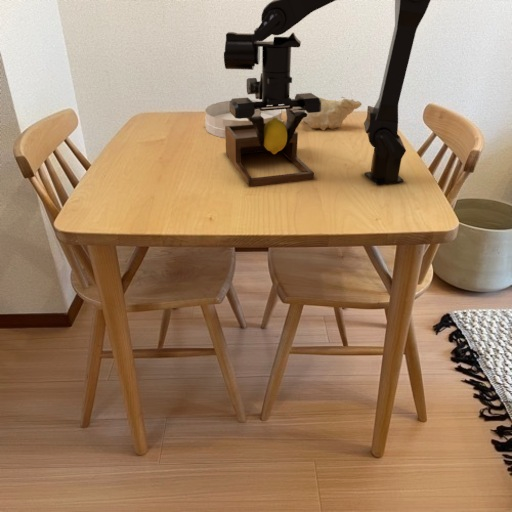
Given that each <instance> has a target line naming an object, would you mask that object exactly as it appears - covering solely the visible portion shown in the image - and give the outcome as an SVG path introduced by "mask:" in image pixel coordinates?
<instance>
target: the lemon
mask: <svg viewBox="0 0 512 512" xmlns="http://www.w3.org/2000/svg"><path fill="white" fill-rule="evenodd" d="M282 121H283V120H282ZM282 121H280V120H278V119H277V118H273V119H272V120H270V121H268V122H267V123H266V124H265V126H264V147H265V148H266V149H267V150H268V151H267V152H270V153H271V154H272V155H276V154H277V153H278V152H281V150H282V149H283V148H284V147H285V145H286V142H287V129H286V126H285V125H284V123H283V122H282Z"/></svg>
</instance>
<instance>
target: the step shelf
mask: <svg viewBox="0 0 512 512" xmlns="http://www.w3.org/2000/svg"><path fill="white" fill-rule="evenodd" d="M282 122H283V123H284V125H285V126H286V123H287V122H286V121H284V120H282ZM265 124H266V123H264V126H265ZM225 135H226V138H225V154H226V156H227V158H228V159H229V160H230V162H231V163H232V165H233V166H234V167H235V170H236V171H237V172H238V174H239V175H240V176H241V178H242V179H243V180H244V182H245V184H246V185H247V186H248V187H257V186H258V187H259V186H266V185H275V184H283V183H290V182H292V183H293V182H302V181H310V180H315V171H313V170H312V169H311V168H310V167H309V166H308V165H307V164H305V162H304V161H302V159H301V158H300V157H299V156H298V140H299V132H298V131H297V130H295V132H294V134H293V136H292V138H291V140H290V142H289V144H286V145H285V147H284V148H283V149H282V150H281V151H280V152H281V153H282V154H283V155H284V156H285V157H286V158H287V159H288V161H290V162H291V163H293V164H294V165H295V166H296V168H298V169H299V171H301V172H295V173H285V174H276V175H275V174H274V175H268V176H267V175H266V176H258V177H252V176H251V174H250V173H249V172H248V170H247V169H246V168H245V167H244V165H243V164H242V160H241V158H242V155H244V154H255V153H265V152H269V151H268V150H267V149H266V148H265V147H264V145H263V147H261V146H260V143H259V140H258V137H257V134H256V131H255V128H254V126H253V124H244V125H232V126H225Z"/></svg>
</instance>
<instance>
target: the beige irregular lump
mask: <svg viewBox="0 0 512 512" xmlns="http://www.w3.org/2000/svg"><path fill="white" fill-rule="evenodd" d="M317 97H318V96H317ZM318 98H319V99H320V100H321V111H320V112H314V113H308V112H306V110H305V113H307V117H304V118H303V119H302V121H303V123H306V124H307V125H308V127H310V128H311V129H320V130H322V131H325V130H326V129H327V128H329V129H330V130H331V129H332V130H333V129H335V128H340V127H341V125H342V124H343V121H345V120H346V118H347V117H348V116H349V115H350V114H351V113H353V112H354V111H355V110H357V109H358V108H361V106H362V104H363V103H362V102H361V101H358V100H354V99H353V98H351V99H348V98H345V97H344V96H341V97H340V98H341V100H336V99H335V100H334V99H325V98H322V97H318Z"/></svg>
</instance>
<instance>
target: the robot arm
mask: <svg viewBox="0 0 512 512" xmlns="http://www.w3.org/2000/svg"><path fill="white" fill-rule="evenodd" d="M335 1H336V0H271V1H270V2H269V3H267V4H266V6H265V7H264V8H263V9H262V11H261V12H262V13H261V19H260V21H261V23H260V24H259V26H258V27H256V28H255V29H254V30H253V33H241V32H240V33H239V32H234V31H228V32H226V33H225V44H224V52H223V64H224V68H225V70H247V71H248V70H254V69H255V67H256V66H257V65H260V62H261V73H260V78H259V80H258V78H256V77H248V78H247V79H246V93H247V95H254V97H255V100H258V101H261V102H252V101H251V100H252V99H251V98H249V97H234V98H231V100H229V101H230V104H229V108H230V113H231V114H232V115H233V116H234V117H235V118H238V119H242V118H247V119H248V120H249V121H251V122H252V124H253V126H254V128H255V131H256V134H257V137H258V140H259V143H260V146H261V147H263V145H264V118H263V117H262V116H261V111H267V110H280V109H282V110H285V114H286V122H285V123H286V129H287V142H286V144H289V142H290V140H291V138H292V136H293V134H294V132H295V131H297V129H298V127H299V125H300V124H301V123H302V121H303V120H302V119H303V118H304V117H307V113H305V110H306V112H308V113H314V112H320V111H321V100H320V99H319V98H320V97H319V98H318V96H317V95H315V94H314V93H312V92H304V93H303V92H302V93H296V94H295V96H294V98H292V97H290V91H291V84H293V77H292V76H291V66H292V65H291V63H292V48H300V47H301V44H302V41H301V40H300V39H299V38H298V37H297V36H296V33H295V32H291V33H290V34H289V36H280V35H283V34H285V33H286V32H288V31H289V30H290V29H292V28H293V27H295V26H296V25H297V24H298V23H300V22H301V21H302V20H304V19H305V18H306V17H307V16H309V15H310V14H311V13H313V12H315V11H318V10H319V9H321V8H323V7H325V6H327V5H330V4H331V3H334V2H335ZM430 3H431V0H394V28H393V32H392V36H391V41H390V46H389V51H388V54H387V60H386V64H385V68H384V73H383V77H382V82H381V85H380V90H379V96H378V99H377V101H376V103H375V105H374V106H371V105H367V108H366V109H367V110H366V111H367V113H366V119H365V120H364V122H363V127H364V130H365V133H366V134H367V138H368V142H369V143H370V146H371V147H373V154H372V158H371V159H372V160H371V166H370V171H366V172H364V176H365V177H367V178H368V179H369V180H370V181H371V182H373V183H374V184H375V185H377V186H383V185H384V186H385V185H392V184H393V185H394V184H400V183H404V181H405V180H404V178H403V177H401V176H399V175H400V170H401V163H402V159H403V157H404V155H405V154H406V152H407V150H406V147H405V145H404V143H403V140H402V138H401V136H400V135H399V134H398V133H399V132H398V131H399V103H400V98H401V95H402V91H403V87H404V82H405V78H406V74H407V69H408V66H409V65H408V64H409V61H410V57H411V53H412V50H413V46H414V42H415V37H416V34H417V30H418V27H419V26H420V23H421V21H423V18H424V16H425V14H426V12H427V11H428V7H429V5H430ZM270 36H274V37H273V40H271V41H265V40H266V39H267V38H269V37H270ZM261 48H262V49H261ZM261 51H262V52H261ZM261 53H262V56H261ZM261 59H262V60H261ZM260 60H261V61H260ZM267 105H273V106H267Z"/></svg>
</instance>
